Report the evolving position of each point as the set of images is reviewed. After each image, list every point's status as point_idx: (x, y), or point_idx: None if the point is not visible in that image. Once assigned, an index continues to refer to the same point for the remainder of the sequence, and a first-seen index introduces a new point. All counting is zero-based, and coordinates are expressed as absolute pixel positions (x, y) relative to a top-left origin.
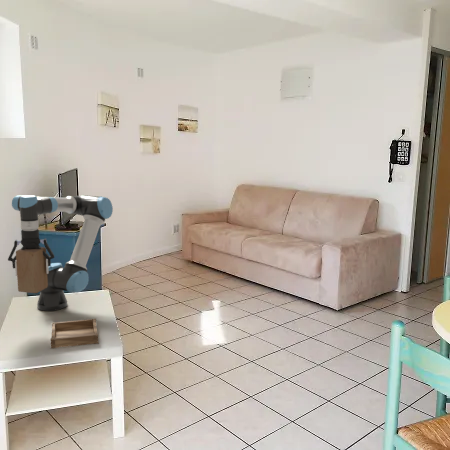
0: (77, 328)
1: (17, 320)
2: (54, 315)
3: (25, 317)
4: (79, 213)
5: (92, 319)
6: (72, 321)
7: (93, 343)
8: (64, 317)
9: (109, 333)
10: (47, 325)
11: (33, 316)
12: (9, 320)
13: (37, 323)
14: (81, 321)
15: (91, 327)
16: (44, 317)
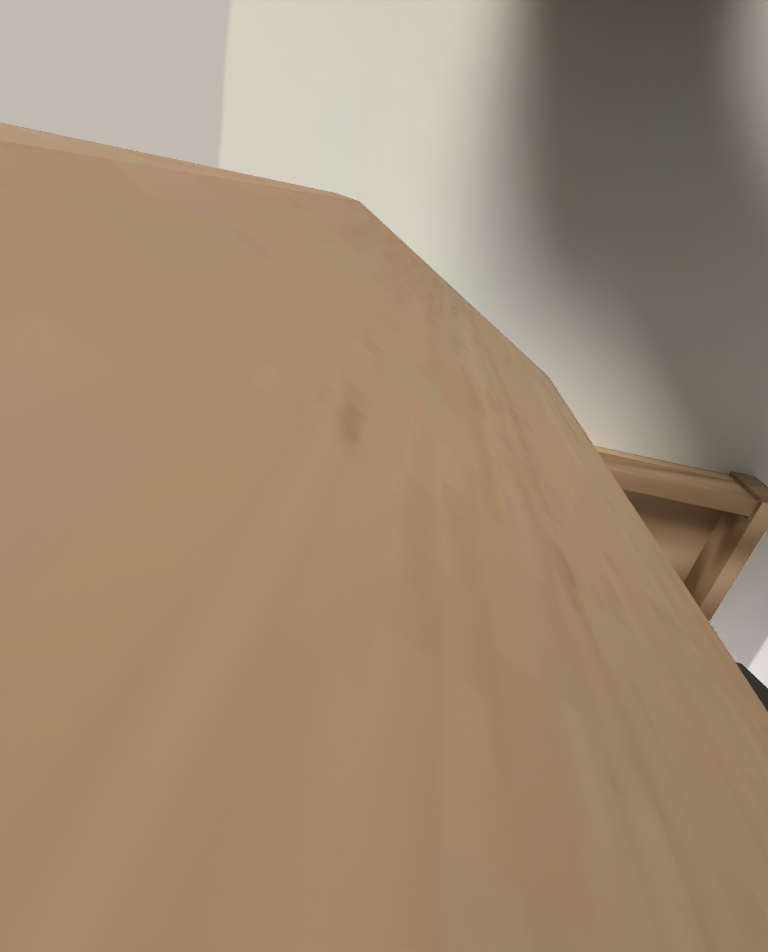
0: (628, 492)
1: (290, 87)
2: (591, 99)
3: (355, 32)
4: None
5: (756, 508)
6: (621, 482)
7: None
8: (645, 197)
9: (759, 598)
10: (481, 314)
11: (422, 36)
12: (228, 53)
13: (425, 239)
14: (676, 499)
15: (709, 514)
16: (501, 115)
